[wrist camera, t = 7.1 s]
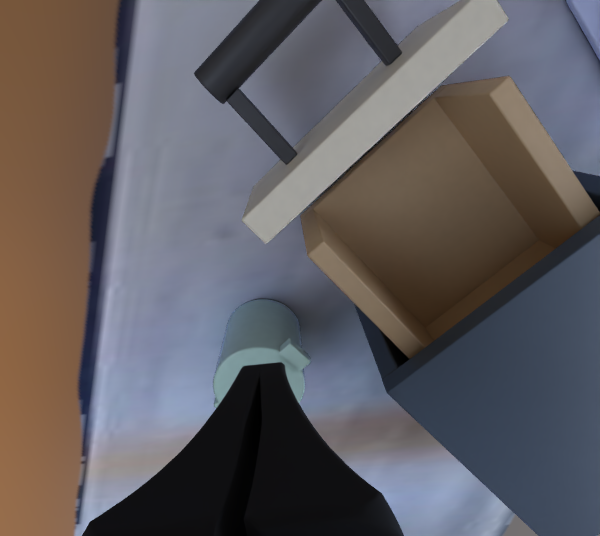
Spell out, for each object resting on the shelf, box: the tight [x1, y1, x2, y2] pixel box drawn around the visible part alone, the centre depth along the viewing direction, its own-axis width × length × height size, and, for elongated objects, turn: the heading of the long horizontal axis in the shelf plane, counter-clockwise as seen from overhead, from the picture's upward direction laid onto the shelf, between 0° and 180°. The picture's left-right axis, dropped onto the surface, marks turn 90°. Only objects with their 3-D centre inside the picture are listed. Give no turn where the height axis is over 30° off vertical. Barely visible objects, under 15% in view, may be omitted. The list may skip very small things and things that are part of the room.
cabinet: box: [354, 171, 600, 536], centre depth 20 cm, size 13×11×8 cm
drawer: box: [194, 0, 600, 359], centre depth 17 cm, size 16×10×6 cm, turn 43°
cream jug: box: [213, 299, 311, 408], centre depth 21 cm, size 6×4×5 cm
